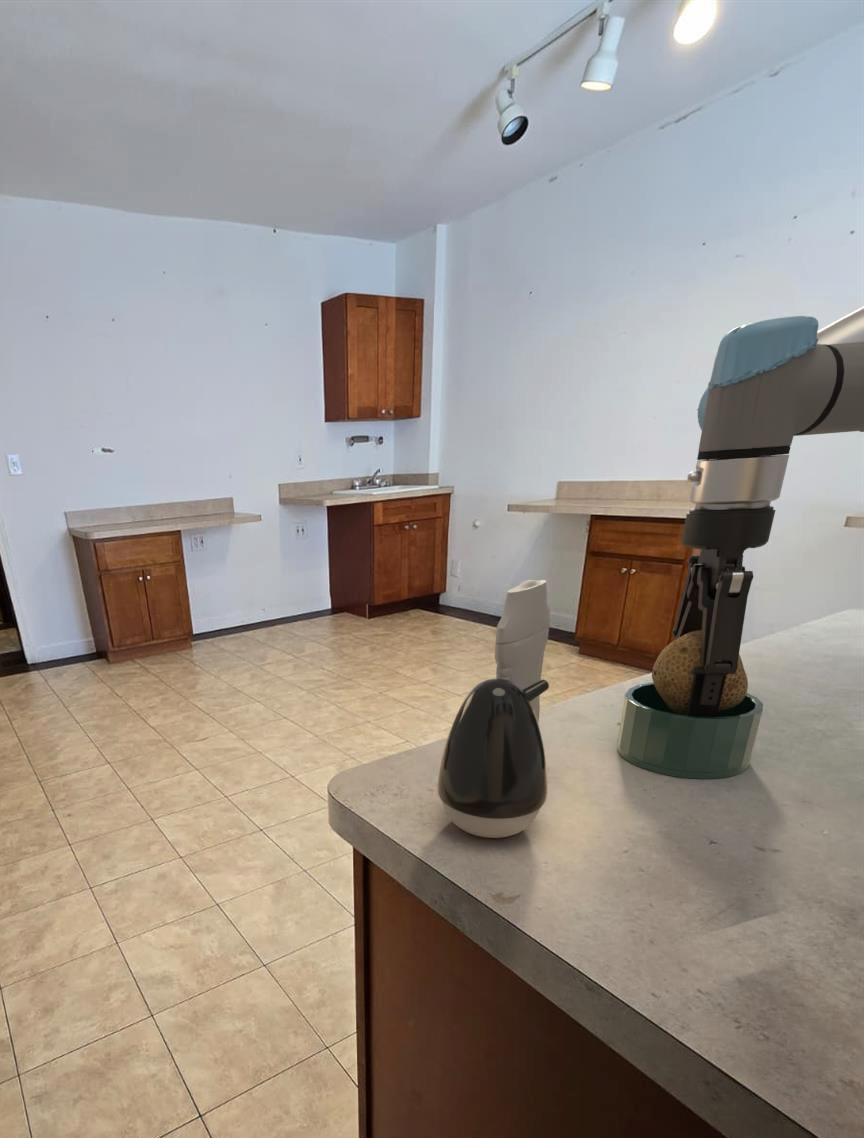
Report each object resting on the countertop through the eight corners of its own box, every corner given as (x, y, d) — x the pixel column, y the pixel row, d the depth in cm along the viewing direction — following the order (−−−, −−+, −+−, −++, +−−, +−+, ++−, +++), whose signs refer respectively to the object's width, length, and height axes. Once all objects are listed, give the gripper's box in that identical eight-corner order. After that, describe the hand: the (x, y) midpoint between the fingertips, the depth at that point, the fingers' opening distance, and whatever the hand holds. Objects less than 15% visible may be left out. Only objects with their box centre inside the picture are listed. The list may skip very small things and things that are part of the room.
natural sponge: (634, 703, 79) (648, 622, 74) (715, 703, 77) (733, 620, 72) (657, 730, 70) (674, 641, 66) (748, 731, 69) (771, 639, 64)
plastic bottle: (516, 756, 78) (532, 571, 69) (548, 764, 76) (570, 573, 66) (471, 786, 72) (482, 587, 63) (505, 797, 69) (522, 590, 60)
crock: (729, 736, 79) (742, 682, 76) (765, 783, 68) (782, 722, 65) (610, 731, 83) (618, 679, 80) (625, 774, 72) (635, 716, 69)
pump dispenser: (567, 838, 61) (587, 685, 54) (470, 861, 58) (479, 704, 52) (505, 793, 70) (515, 658, 63) (419, 812, 67) (421, 673, 61)
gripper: (667, 501, 75) (636, 685, 84) (717, 515, 56) (670, 749, 65) (741, 497, 72) (701, 686, 82) (820, 510, 54) (756, 754, 63)
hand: (687, 714), depth 73 cm, fingers closed on natural sponge, 9 cm apart
